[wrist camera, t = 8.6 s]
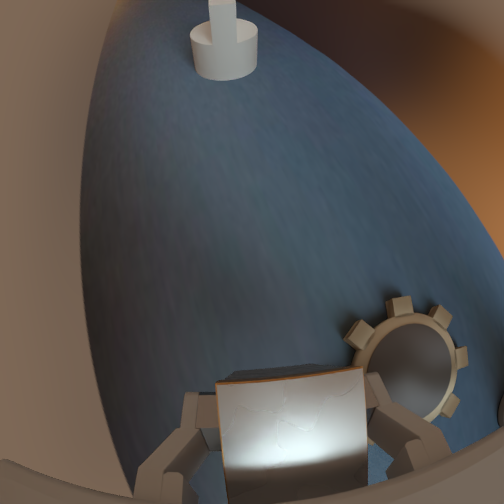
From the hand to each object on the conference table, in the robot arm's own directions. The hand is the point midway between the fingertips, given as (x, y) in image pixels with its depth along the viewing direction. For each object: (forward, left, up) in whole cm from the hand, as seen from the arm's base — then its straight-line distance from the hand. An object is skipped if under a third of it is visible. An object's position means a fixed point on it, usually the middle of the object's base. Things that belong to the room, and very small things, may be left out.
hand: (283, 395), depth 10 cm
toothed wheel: (-2, -12, -14) cm, 19 cm away
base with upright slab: (+40, +1, -14) cm, 42 cm away
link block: (-1, 0, -5) cm, 5 cm away
